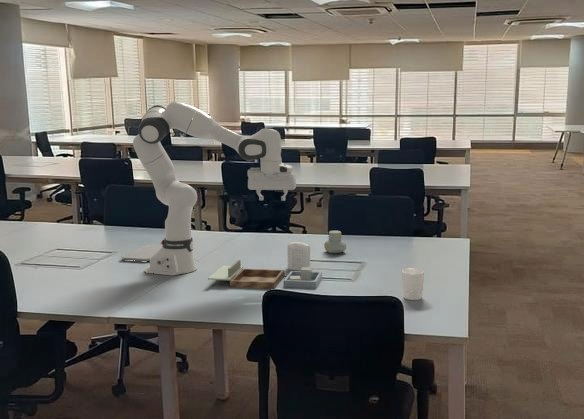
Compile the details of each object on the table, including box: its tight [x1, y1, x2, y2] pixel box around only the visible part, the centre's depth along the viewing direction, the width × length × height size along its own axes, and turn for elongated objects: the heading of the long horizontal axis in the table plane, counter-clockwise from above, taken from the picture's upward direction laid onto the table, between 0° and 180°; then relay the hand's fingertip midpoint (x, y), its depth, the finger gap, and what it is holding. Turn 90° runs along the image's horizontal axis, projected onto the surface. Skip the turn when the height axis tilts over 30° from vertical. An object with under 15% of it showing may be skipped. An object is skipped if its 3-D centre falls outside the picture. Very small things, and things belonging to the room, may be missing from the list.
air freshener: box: [323, 230, 347, 254], centre depth 305 cm, size 11×8×10 cm
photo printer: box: [287, 241, 311, 271], centre depth 275 cm, size 10×4×12 cm, turn 60°
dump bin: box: [282, 270, 323, 289], centre depth 257 cm, size 13×14×3 cm
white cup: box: [401, 268, 425, 301], centre depth 235 cm, size 8×8×10 cm
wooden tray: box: [229, 268, 286, 290], centre depth 259 cm, size 18×18×3 cm
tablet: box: [121, 244, 162, 261], centre depth 309 cm, size 16×26×2 cm, turn 164°
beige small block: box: [301, 266, 313, 281], centre depth 258 cm, size 4×4×5 cm
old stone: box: [290, 276, 301, 281], centre depth 254 cm, size 4×4×3 cm
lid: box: [207, 259, 244, 281], centre depth 262 cm, size 9×19×4 cm, turn 168°
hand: (272, 200), depth 269 cm, fingers open, 8 cm apart
